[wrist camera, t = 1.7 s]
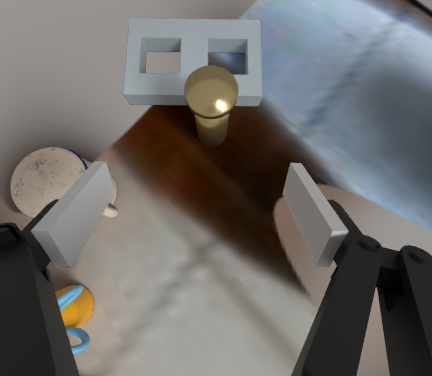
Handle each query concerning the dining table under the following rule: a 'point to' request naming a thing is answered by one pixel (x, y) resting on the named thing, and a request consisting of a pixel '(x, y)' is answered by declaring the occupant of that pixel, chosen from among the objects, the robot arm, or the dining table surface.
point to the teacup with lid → (49, 179)
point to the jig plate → (189, 56)
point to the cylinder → (75, 312)
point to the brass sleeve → (211, 101)
